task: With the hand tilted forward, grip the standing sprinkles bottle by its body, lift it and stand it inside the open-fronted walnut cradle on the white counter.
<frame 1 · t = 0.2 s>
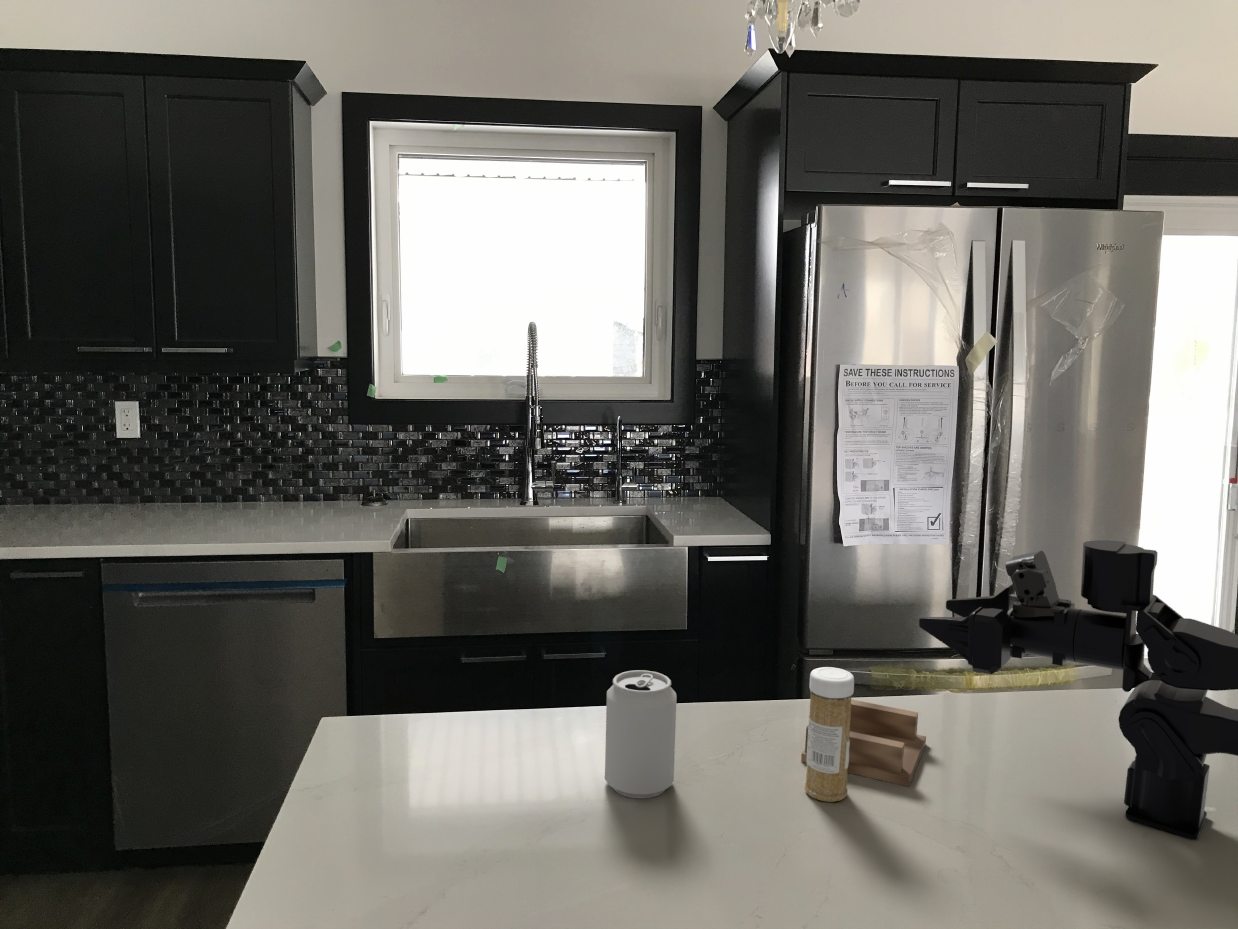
hand: (933, 612, 110), 17 cm above the kitchen island, tool horizontal, fingers open, 9 cm apart
can: (638, 786, 101), on the kitchen island
walnut cradle: (864, 752, 110), on the kitchen island
sprinkles bottle: (825, 794, 101), on the kitchen island
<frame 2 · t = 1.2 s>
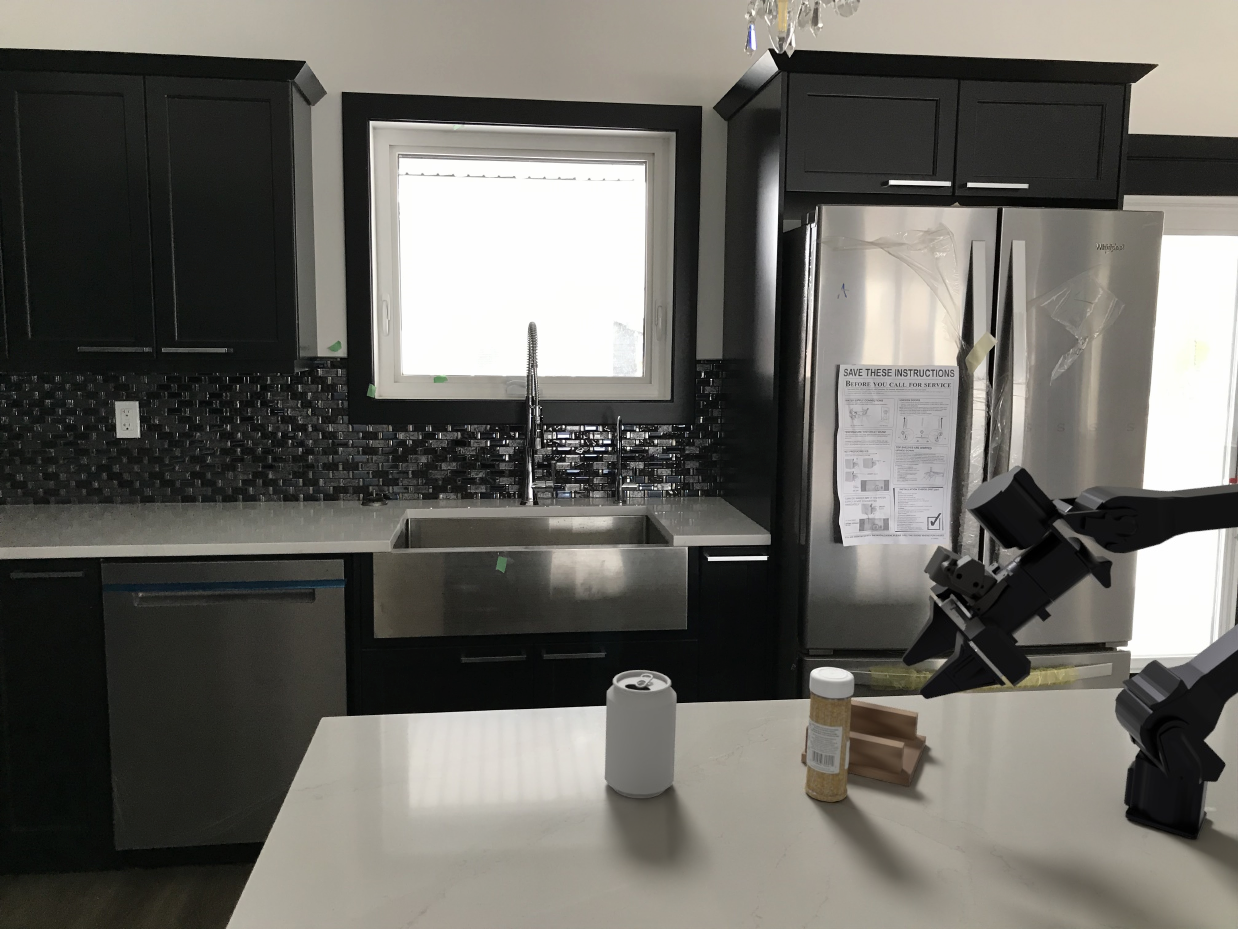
hand: (912, 678, 98), 13 cm above the kitchen island, tool tilted 45°, fingers open, 9 cm apart
nothing on the kitchen island moved.
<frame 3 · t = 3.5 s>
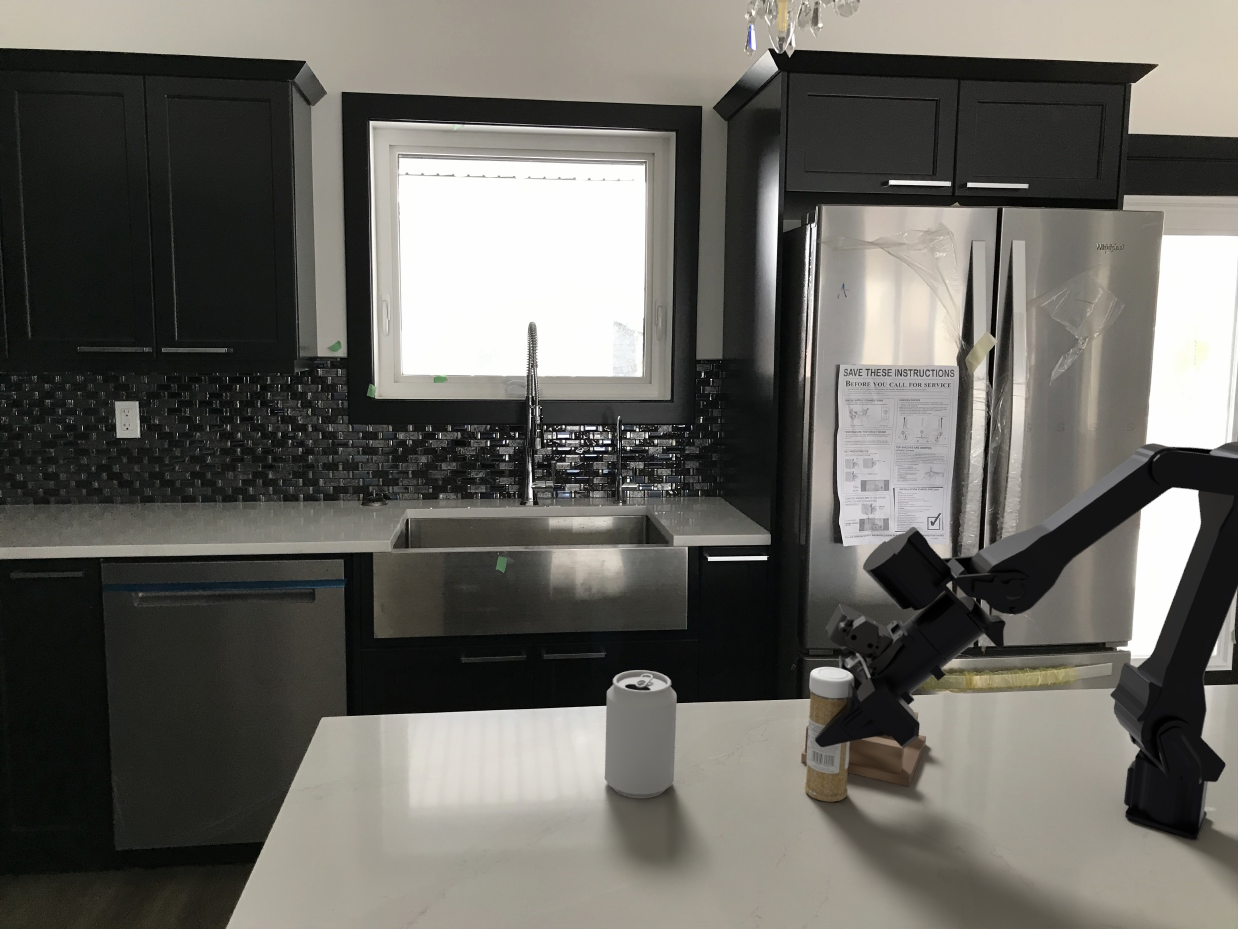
hand: (815, 734, 100), 7 cm above the kitchen island, tool tilted 45°, fingers closed on sprinkles bottle, 4 cm apart
sprinkles bottle: (825, 794, 101), on the kitchen island, touching gripper
everything else where it was.
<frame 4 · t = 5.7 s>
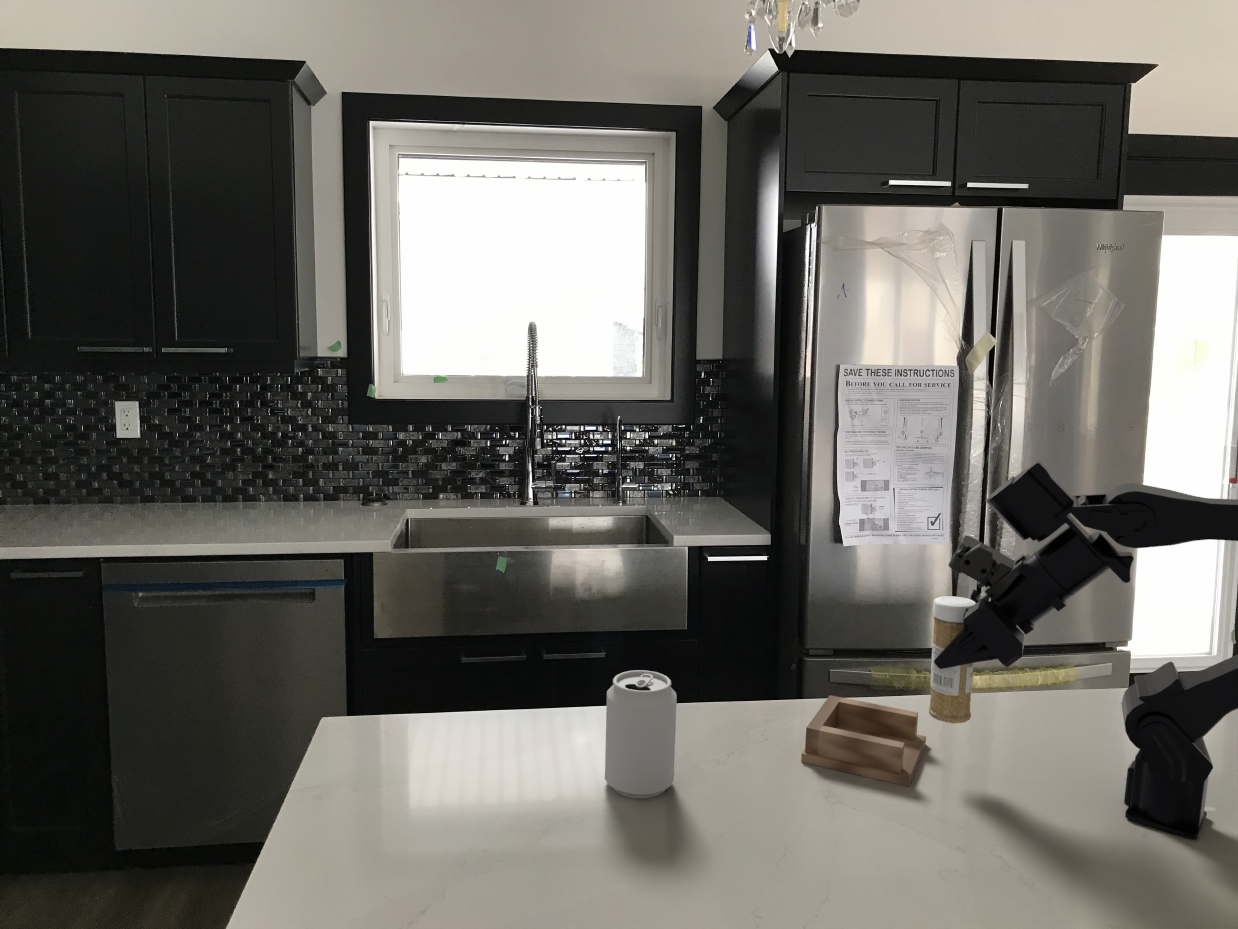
hand: (939, 658, 105), 13 cm above the kitchen island, tool tilted 45°, fingers closed on sprinkles bottle, 4 cm apart
sprinkles bottle: (948, 718, 105), point 6 cm above the kitchen island, touching gripper
everything else where it was.
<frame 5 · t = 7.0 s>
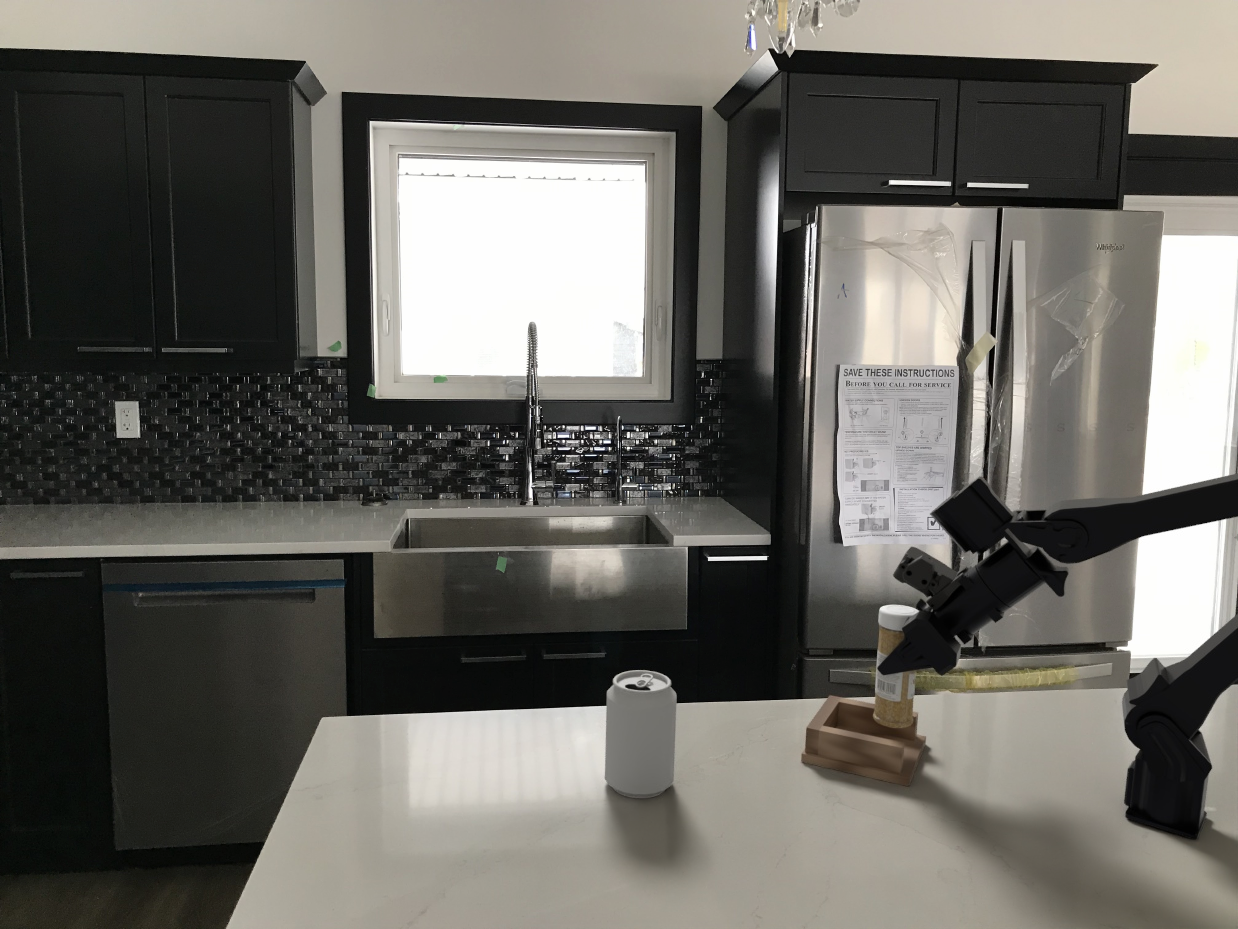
hand: (883, 665, 108), 11 cm above the kitchen island, tool tilted 45°, fingers closed on sprinkles bottle, 4 cm apart
sprinkles bottle: (892, 723, 108), point 4 cm above the kitchen island, touching gripper
everything else where it was.
when the fingers open (10 cm above the kitchen island, at t = 7.9 s): sprinkles bottle drops 2 cm, resting on walnut cradle.
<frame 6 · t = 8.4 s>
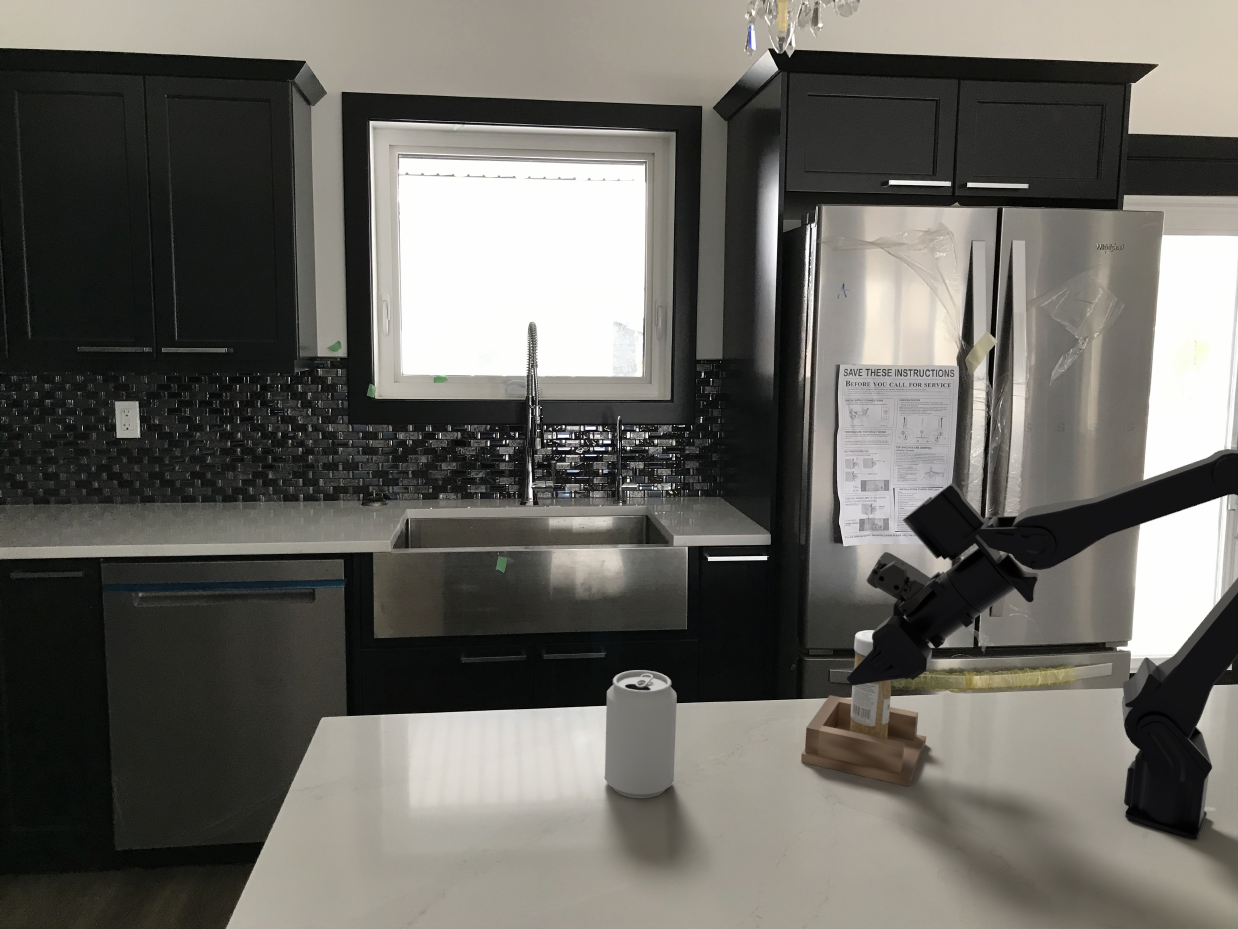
hand: (858, 669, 110), 10 cm above the kitchen island, tool tilted 45°, fingers open, 9 cm apart
sprinkles bottle: (867, 746, 110), point 1 cm above the kitchen island, touching walnut cradle
everything else where it was.
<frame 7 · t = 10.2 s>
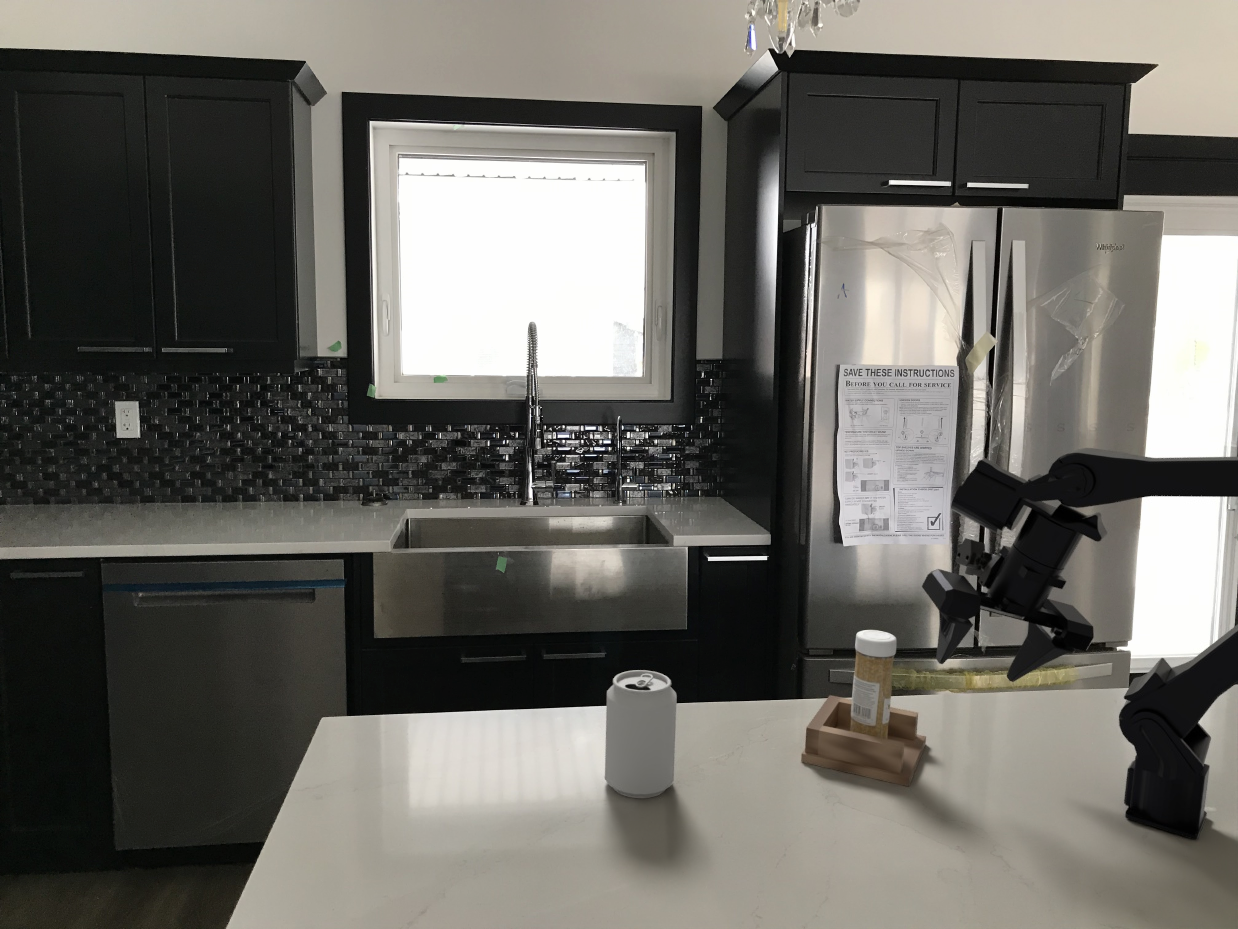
hand: (974, 670, 107), 11 cm above the kitchen island, tool tilted 20°, fingers open, 9 cm apart
nothing on the kitchen island moved.
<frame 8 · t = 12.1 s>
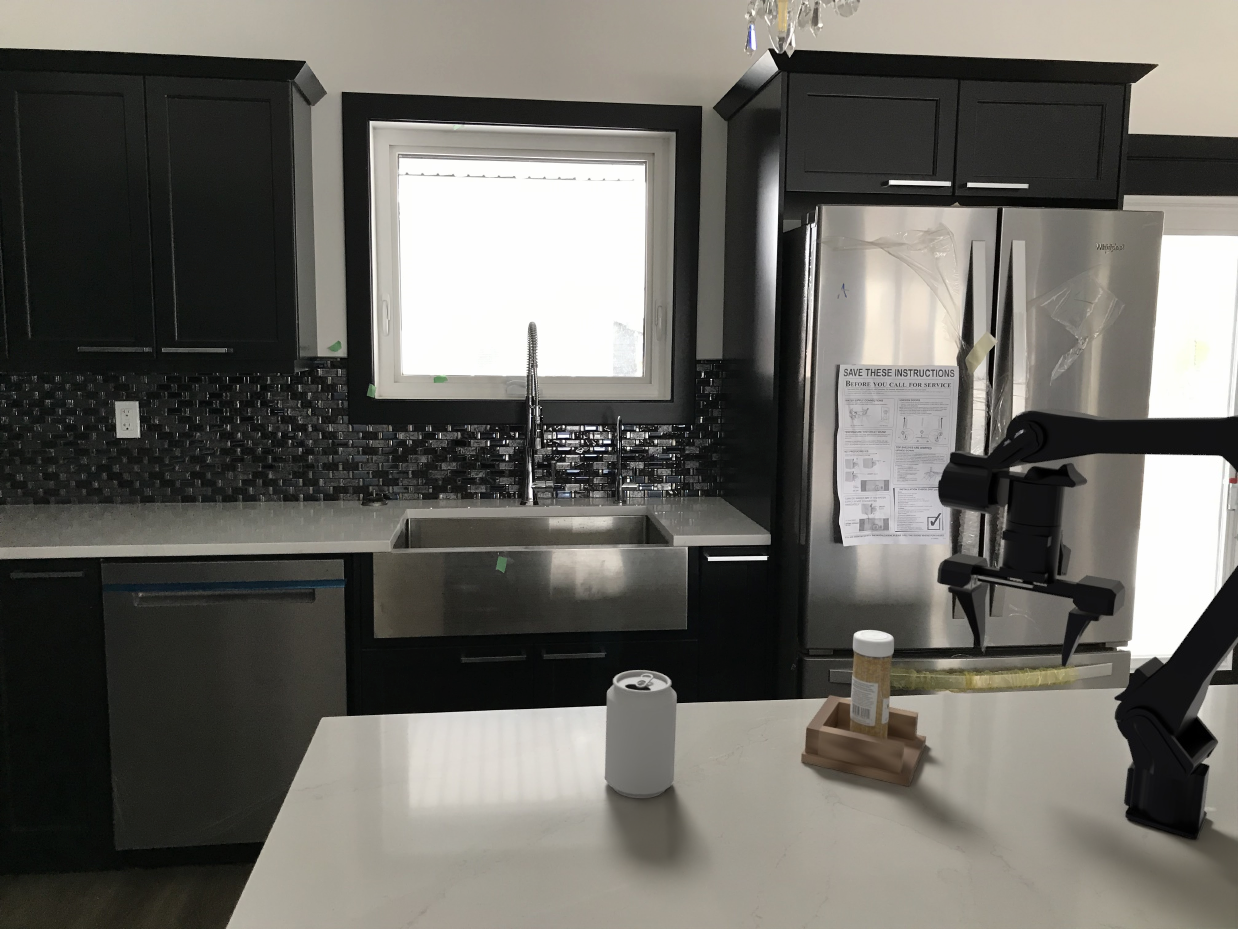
hand: (1021, 655, 107), 13 cm above the kitchen island, tool pointing down, fingers open, 9 cm apart
nothing on the kitchen island moved.
at the end: sprinkles bottle 0.2 cm from the walnut cradle (horizontally); sprinkles bottle tilted 0°; the gripper is holding nothing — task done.
